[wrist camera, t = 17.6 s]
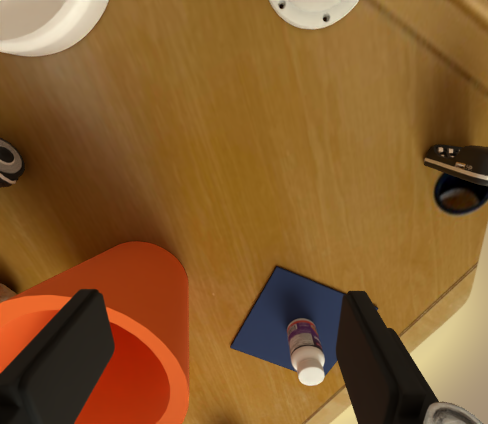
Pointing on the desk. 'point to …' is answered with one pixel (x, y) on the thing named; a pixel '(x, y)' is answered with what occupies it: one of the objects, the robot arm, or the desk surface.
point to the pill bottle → (306, 351)
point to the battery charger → (460, 162)
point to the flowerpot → (120, 331)
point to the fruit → (6, 293)
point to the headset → (9, 164)
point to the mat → (290, 318)
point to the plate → (46, 24)
